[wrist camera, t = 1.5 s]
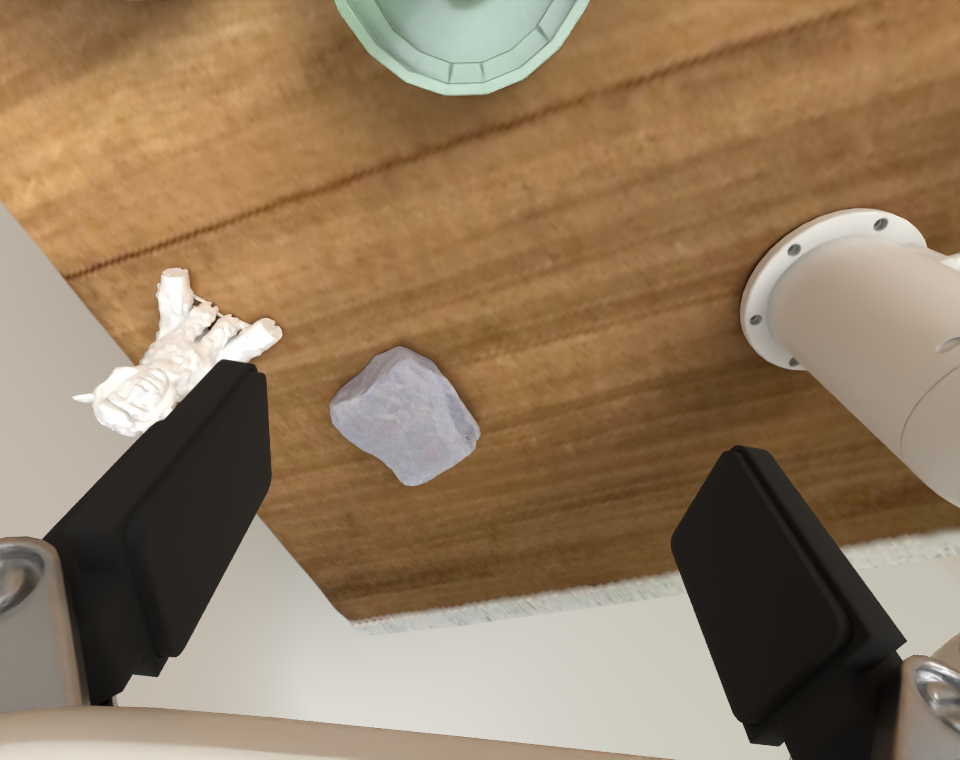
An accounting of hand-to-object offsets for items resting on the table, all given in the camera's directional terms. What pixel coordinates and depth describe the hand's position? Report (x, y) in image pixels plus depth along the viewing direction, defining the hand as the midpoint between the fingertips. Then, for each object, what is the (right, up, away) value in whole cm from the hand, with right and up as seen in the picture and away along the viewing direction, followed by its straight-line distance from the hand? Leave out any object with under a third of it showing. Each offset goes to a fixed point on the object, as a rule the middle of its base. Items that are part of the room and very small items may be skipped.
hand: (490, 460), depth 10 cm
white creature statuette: (-22, +6, +30) cm, 38 cm away
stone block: (-6, -1, +34) cm, 34 cm away
